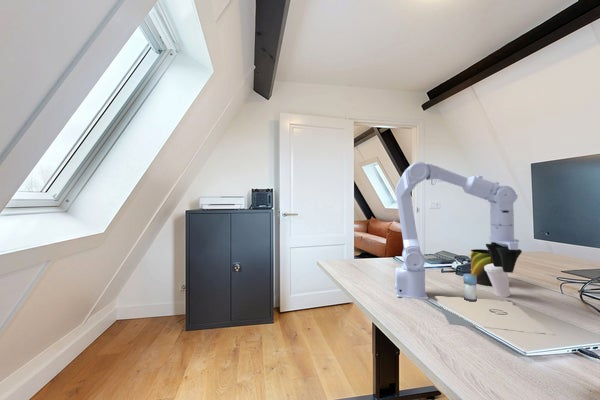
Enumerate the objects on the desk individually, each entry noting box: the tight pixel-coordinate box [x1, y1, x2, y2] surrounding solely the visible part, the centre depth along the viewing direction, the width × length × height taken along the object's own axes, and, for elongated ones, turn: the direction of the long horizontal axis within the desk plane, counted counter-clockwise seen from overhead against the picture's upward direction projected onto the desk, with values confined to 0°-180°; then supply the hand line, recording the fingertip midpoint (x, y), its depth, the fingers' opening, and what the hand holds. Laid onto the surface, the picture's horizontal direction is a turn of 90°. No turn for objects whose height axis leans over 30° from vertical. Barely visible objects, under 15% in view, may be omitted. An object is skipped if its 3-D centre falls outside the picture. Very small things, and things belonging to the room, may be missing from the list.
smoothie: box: [484, 263, 511, 298], centre depth 87 cm, size 6×6×14 cm
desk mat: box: [438, 299, 514, 328], centre depth 75 cm, size 22×22×1 cm
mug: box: [470, 248, 493, 287], centre depth 102 cm, size 10×14×12 cm
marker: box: [462, 273, 478, 302], centre depth 82 cm, size 3×3×8 cm
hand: (502, 269), depth 81 cm, fingers open, 6 cm apart
